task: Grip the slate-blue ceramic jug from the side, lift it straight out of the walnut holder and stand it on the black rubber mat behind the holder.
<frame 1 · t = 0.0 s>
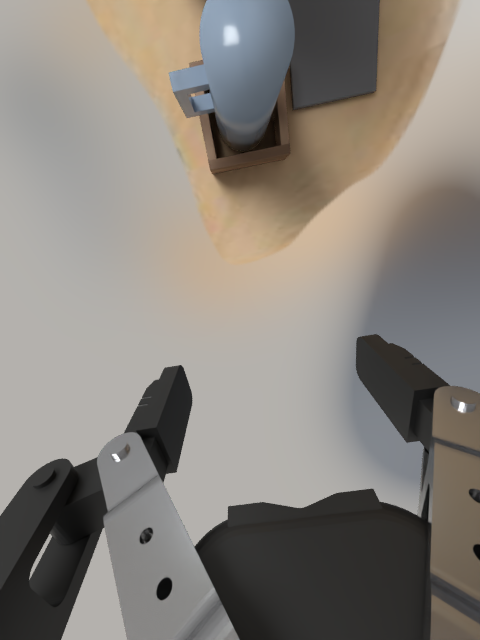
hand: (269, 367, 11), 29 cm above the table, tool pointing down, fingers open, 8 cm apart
jug: (229, 96, 24), in the holder
mat: (331, 47, 28), on the table
holder: (242, 121, 31), on the table
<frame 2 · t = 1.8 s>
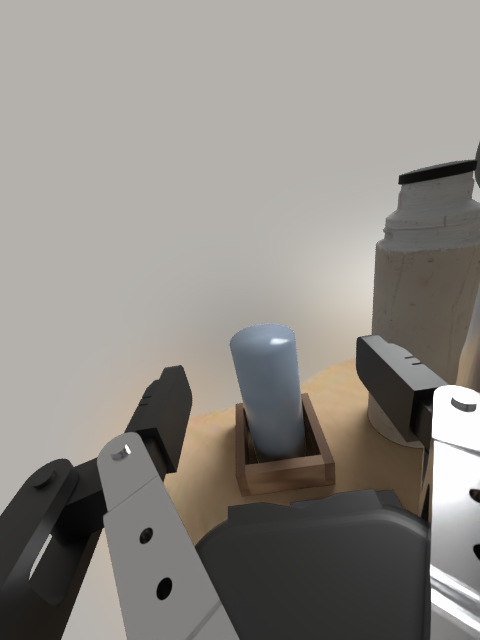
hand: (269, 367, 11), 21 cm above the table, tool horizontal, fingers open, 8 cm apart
jug: (270, 391, 28), in the holder
thermos bottle: (403, 421, 31), on the table
mat: (365, 567, 19), on the table
holder: (280, 448, 30), on the table
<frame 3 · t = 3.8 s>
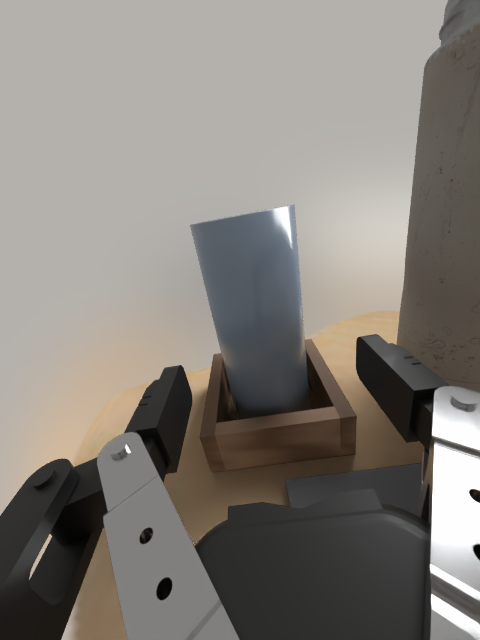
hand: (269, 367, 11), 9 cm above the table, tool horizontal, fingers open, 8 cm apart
jug: (258, 321, 19), in the holder
thermos bottle: (447, 373, 22), on the table
mat: (422, 590, 10), on the table
holder: (272, 409, 21), on the table
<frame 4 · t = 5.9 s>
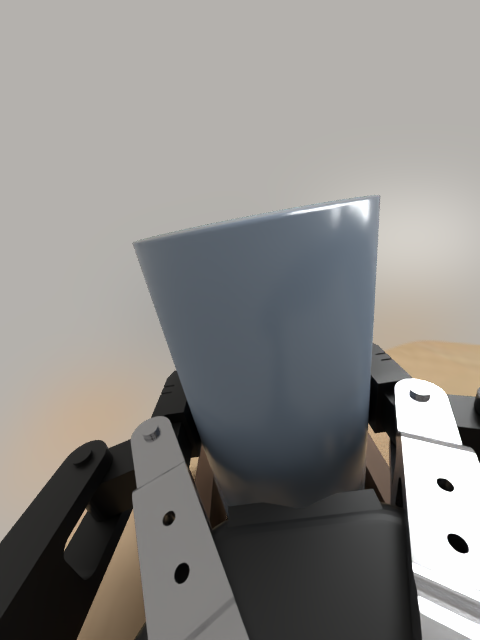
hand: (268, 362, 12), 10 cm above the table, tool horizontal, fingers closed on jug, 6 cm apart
jug: (275, 398, 11), in the holder, touching gripper
holder: (296, 528, 13), on the table
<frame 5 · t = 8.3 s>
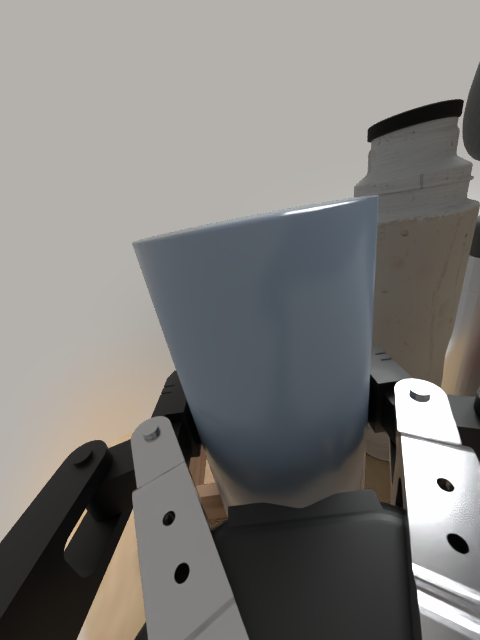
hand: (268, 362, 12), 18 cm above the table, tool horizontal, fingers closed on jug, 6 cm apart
jug: (274, 398, 11), point 16 cm above the table, touching gripper
thermos bottle: (382, 429, 27), on the table
holder: (241, 462, 26), on the table
when the fingers open (11 cm above the table, at t = 10.6 s): jug drops 1 cm, resting on mat.
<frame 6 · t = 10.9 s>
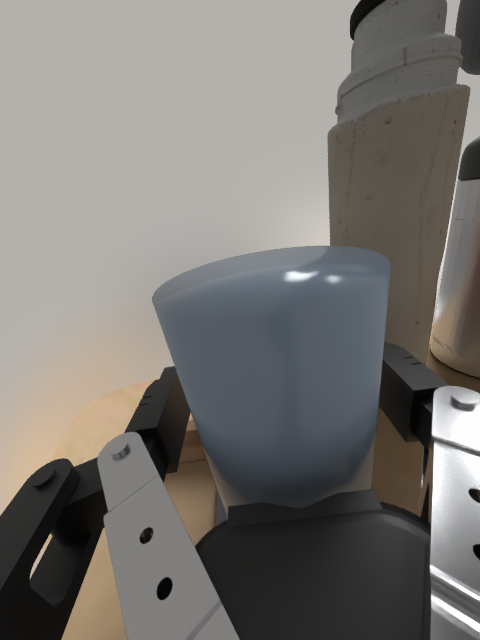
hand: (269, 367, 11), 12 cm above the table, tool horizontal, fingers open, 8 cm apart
jug: (281, 424, 12), on the mat, point 9 cm above the table
thermos bottle: (374, 380, 25), on the table
holder: (224, 412, 25), on the table
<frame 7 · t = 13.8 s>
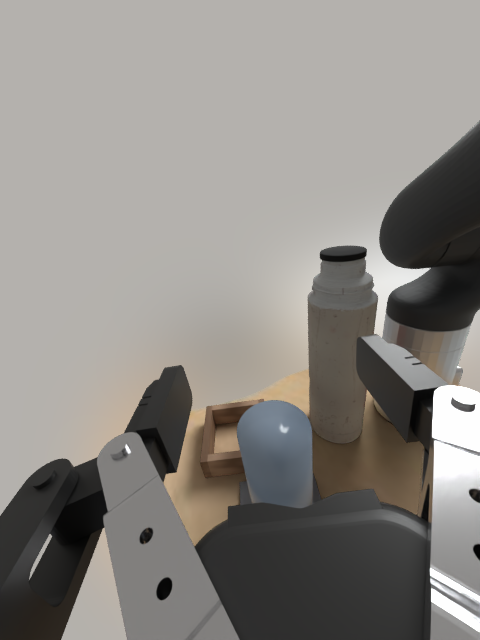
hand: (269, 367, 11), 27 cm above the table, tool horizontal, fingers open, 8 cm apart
jug: (277, 468, 26), on the mat, point 9 cm above the table
thermos bottle: (334, 422, 40), on the table
mat: (283, 524, 28), on the table
holder: (238, 442, 39), on the table
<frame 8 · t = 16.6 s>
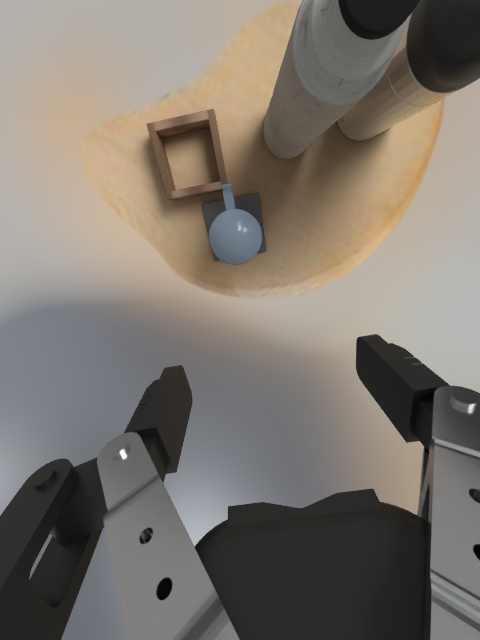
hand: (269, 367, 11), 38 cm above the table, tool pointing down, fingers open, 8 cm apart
jug: (233, 222, 36), on the mat, point 9 cm above the table
thermos bottle: (287, 129, 39), on the table
mat: (235, 228, 44), on the table
holder: (192, 161, 40), on the table
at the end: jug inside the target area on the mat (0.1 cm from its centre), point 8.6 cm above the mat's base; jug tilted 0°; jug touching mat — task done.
